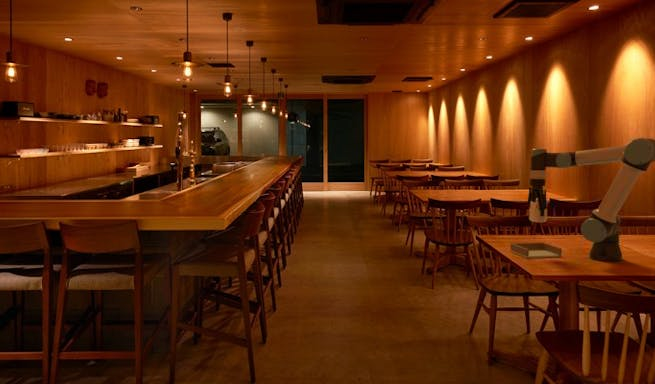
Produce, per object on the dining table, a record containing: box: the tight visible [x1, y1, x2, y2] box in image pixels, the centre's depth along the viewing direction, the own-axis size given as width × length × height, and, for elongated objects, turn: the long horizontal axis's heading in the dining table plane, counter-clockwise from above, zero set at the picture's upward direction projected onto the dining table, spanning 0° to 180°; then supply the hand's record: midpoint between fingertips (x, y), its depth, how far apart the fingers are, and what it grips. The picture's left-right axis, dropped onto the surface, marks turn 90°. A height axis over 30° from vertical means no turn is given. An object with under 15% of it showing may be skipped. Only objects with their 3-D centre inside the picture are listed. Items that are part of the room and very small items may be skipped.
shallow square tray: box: [509, 241, 562, 259], centre depth 303 cm, size 18×19×4 cm
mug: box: [529, 200, 548, 223], centre depth 301 cm, size 12×8×10 cm
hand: (536, 221), depth 302 cm, fingers closed on mug, 9 cm apart
